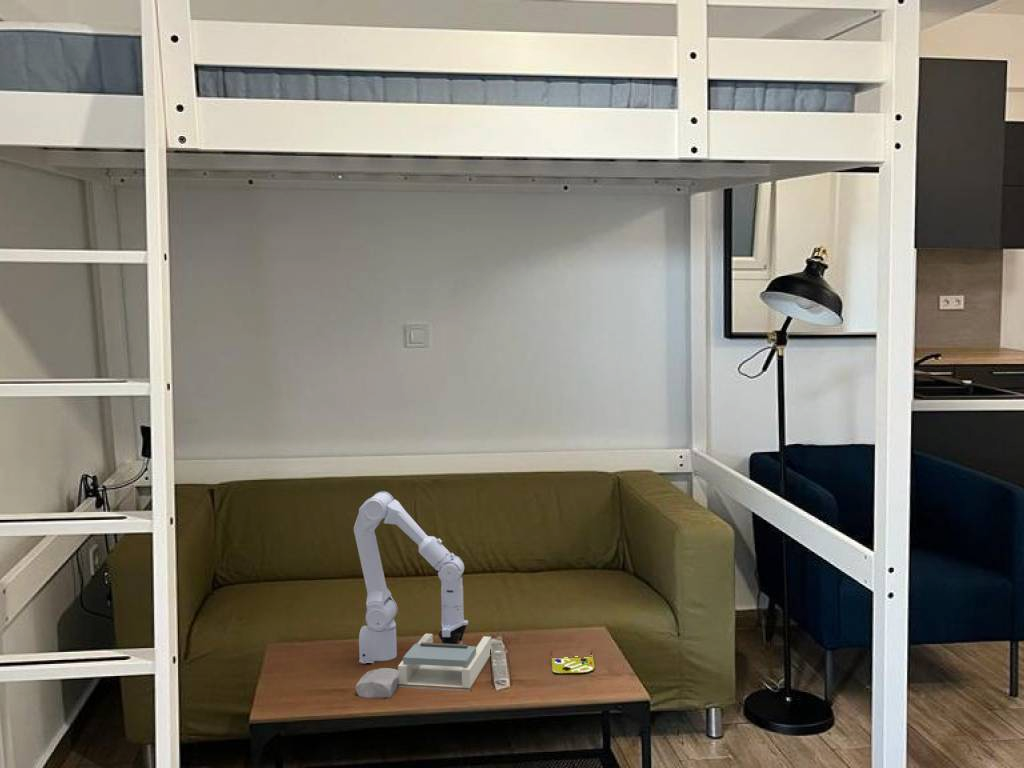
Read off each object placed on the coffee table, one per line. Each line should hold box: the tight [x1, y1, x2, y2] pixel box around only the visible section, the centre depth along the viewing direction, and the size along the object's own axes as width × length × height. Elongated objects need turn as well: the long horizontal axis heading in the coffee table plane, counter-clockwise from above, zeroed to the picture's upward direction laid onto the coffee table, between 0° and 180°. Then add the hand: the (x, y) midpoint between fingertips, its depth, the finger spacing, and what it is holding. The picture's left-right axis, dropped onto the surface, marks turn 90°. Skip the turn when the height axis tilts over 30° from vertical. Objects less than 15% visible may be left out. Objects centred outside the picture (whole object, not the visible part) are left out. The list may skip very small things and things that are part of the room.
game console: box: [551, 654, 596, 676], centre depth 262 cm, size 18×11×2 cm, turn 0°
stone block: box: [355, 667, 400, 699], centre depth 247 cm, size 12×5×10 cm
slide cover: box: [402, 642, 477, 667], centre depth 250 cm, size 16×10×2 cm, turn 79°
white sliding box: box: [397, 633, 492, 693], centre depth 256 cm, size 18×24×6 cm
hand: (453, 655), depth 263 cm, fingers closed on block, 4 cm apart
